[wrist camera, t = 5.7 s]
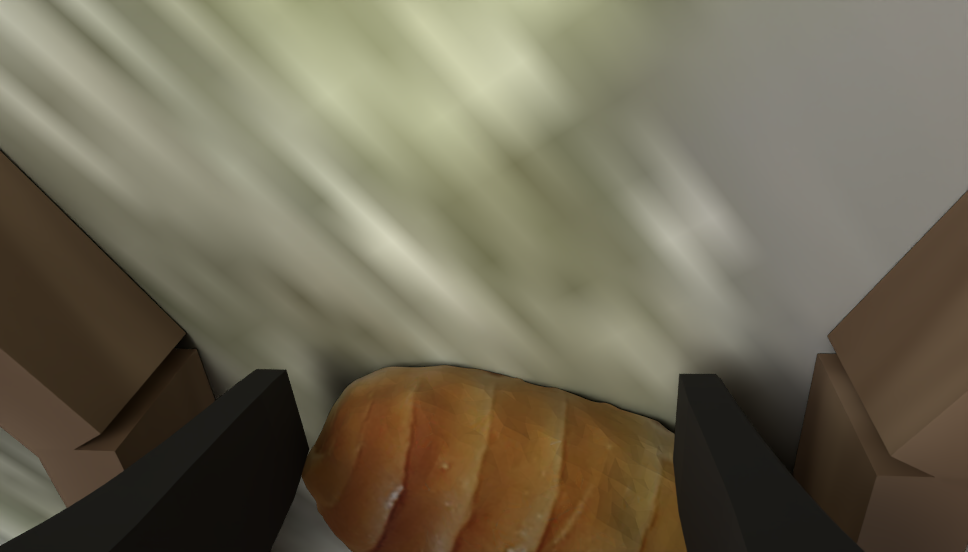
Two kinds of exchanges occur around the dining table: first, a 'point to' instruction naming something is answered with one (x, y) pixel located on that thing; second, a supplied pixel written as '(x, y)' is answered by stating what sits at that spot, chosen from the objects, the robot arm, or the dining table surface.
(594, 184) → the dining table surface
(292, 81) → the dining table surface
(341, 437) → the pastry
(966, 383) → the holder
